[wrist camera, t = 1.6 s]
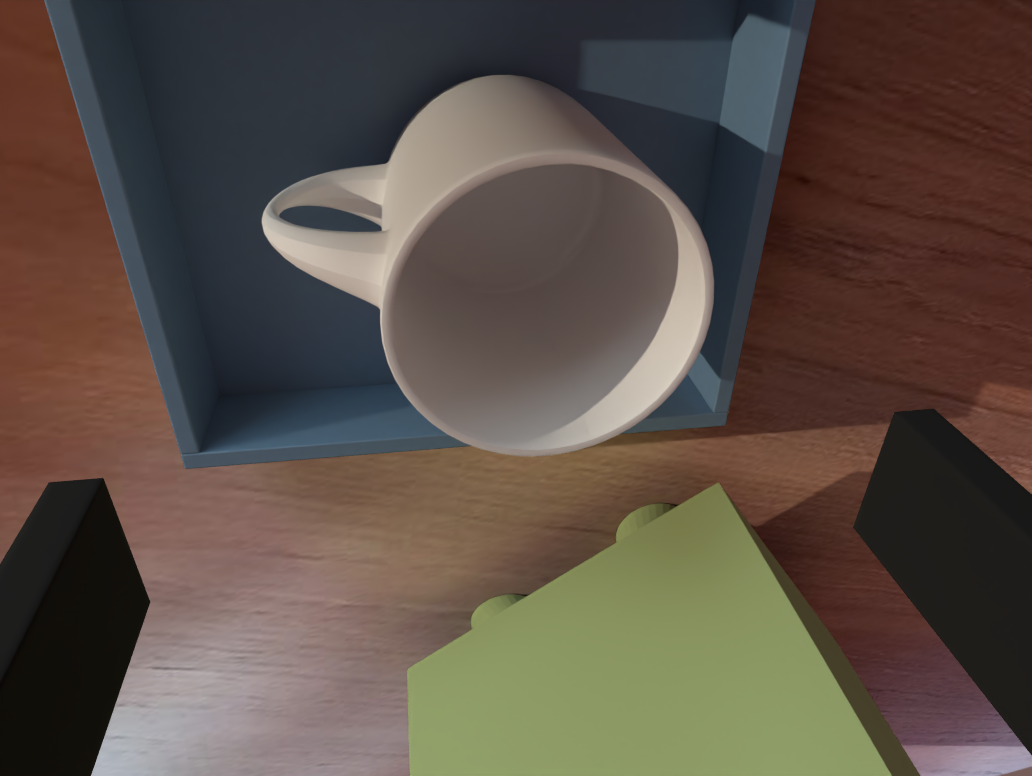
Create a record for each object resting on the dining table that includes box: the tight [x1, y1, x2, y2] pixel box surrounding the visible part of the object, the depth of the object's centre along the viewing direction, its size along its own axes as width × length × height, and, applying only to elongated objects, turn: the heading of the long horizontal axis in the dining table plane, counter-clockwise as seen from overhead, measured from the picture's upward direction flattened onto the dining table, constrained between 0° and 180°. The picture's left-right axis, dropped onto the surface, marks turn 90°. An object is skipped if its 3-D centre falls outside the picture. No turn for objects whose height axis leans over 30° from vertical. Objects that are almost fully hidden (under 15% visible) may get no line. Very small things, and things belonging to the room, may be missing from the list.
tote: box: [45, 0, 816, 469], centre depth 25 cm, size 18×21×4 cm
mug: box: [262, 75, 714, 456], centre depth 22 cm, size 9×12×11 cm
